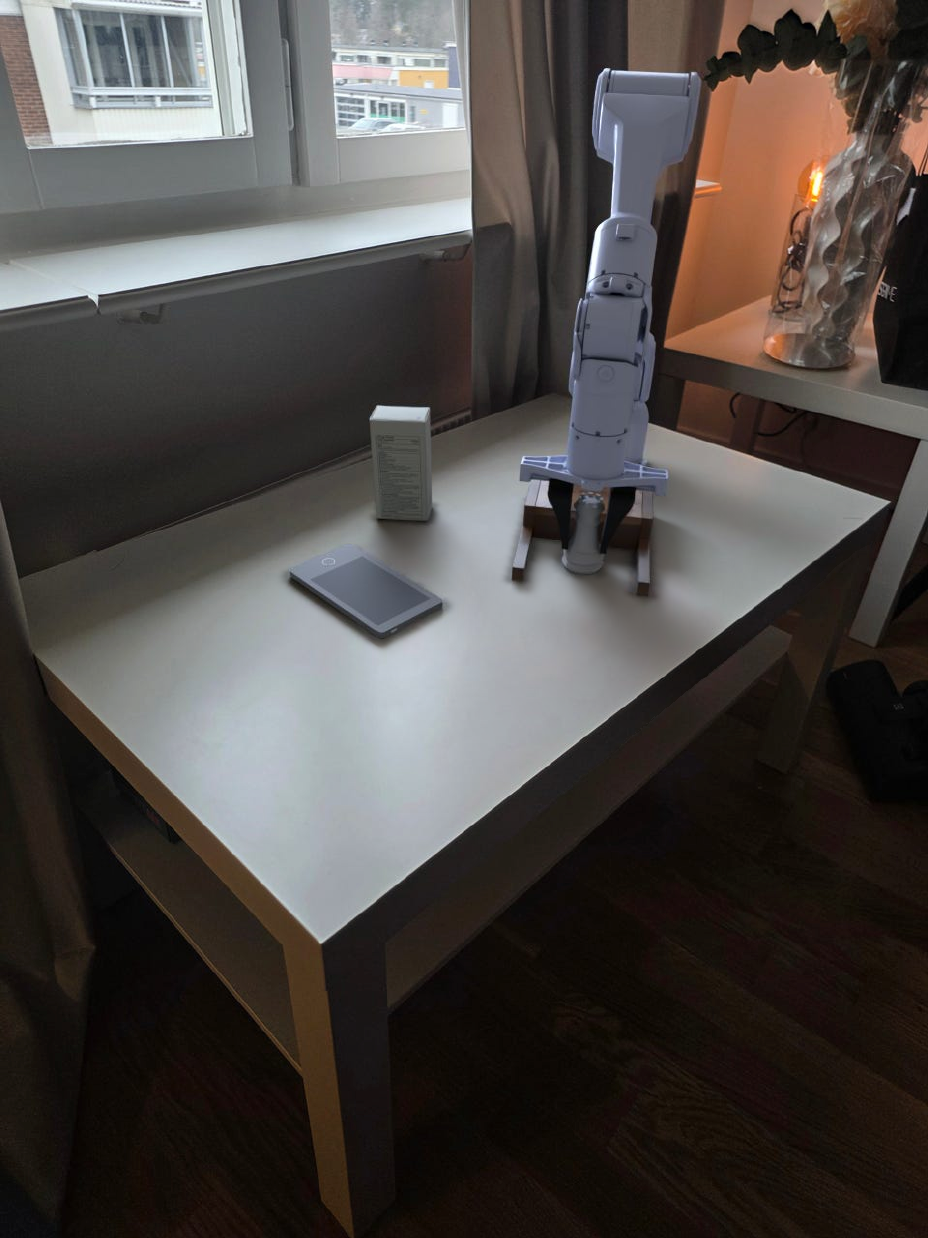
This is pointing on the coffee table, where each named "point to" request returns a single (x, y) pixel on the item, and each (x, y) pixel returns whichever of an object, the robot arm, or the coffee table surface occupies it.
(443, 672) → the coffee table surface
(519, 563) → the brown u-shaped piece
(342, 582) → the smartphone
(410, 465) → the cosmetic box
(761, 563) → the coffee table surface
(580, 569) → the rook chess piece
